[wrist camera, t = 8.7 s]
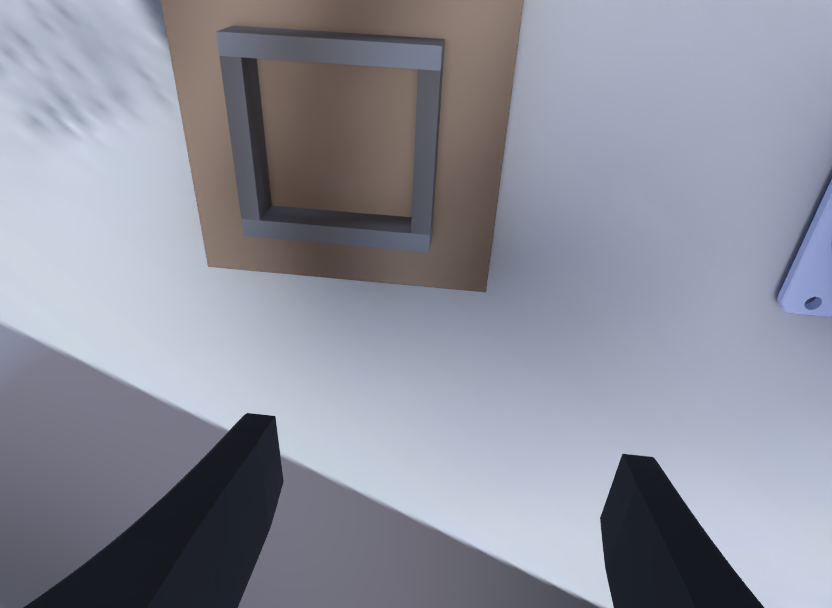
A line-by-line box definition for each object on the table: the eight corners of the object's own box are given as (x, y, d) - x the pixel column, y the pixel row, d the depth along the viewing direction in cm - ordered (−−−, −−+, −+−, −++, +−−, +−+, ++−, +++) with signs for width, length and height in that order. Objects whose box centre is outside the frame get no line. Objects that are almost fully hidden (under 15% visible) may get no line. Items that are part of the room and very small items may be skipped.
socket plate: (526, -44, 15) (531, -41, 14) (485, 277, 21) (485, 310, 19) (167, -63, 16) (125, -62, 14) (218, 253, 21) (193, 283, 20)
